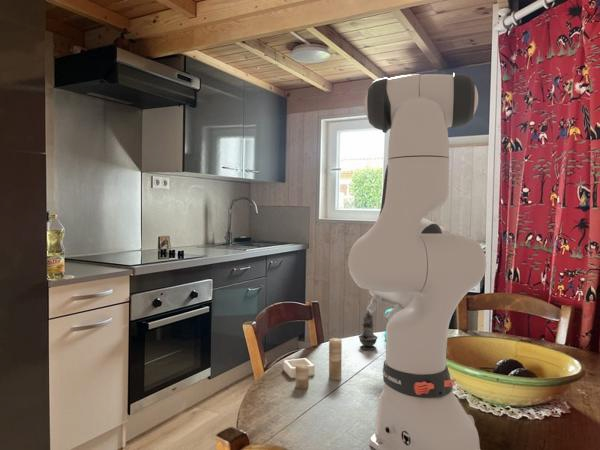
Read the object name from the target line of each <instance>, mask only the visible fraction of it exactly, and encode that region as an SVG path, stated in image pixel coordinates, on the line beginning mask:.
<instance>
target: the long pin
mask: <svg viewBox="0 0 600 450" xmlns="http://www.w3.org/2000/svg"><path fill="white" fill-rule="evenodd" d="M342 342H343V340H342V339H341V338H337V337H331V338H329V339H328V379H329V380H330V381H335V382H336V381H340V380H342V357H343V356H342V352H343V351H342V345H343V343H342Z"/></svg>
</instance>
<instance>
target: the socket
mask: <svg viewBox="0 0 600 450" xmlns="http://www.w3.org/2000/svg"><path fill="white" fill-rule="evenodd" d="M297 365H307V366H308V367H309V377H311V376H315V365H314V364H313V363H312V361H310V360H309V359H307V357H302V358H301V357H300V358H294V359H285V360H283V370H284V372H285V373H286V374H287V376H288V377H289V378H291V379H296V366H297Z"/></svg>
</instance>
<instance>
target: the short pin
mask: <svg viewBox="0 0 600 450" xmlns="http://www.w3.org/2000/svg"><path fill="white" fill-rule="evenodd" d="M309 377H310V376H309V367H308V366H307V365H297V366H296V378H295V389H297V390H301V391H302V390H308V389H309Z"/></svg>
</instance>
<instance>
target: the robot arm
mask: <svg viewBox="0 0 600 450" xmlns="http://www.w3.org/2000/svg"><path fill="white" fill-rule="evenodd" d="M475 84H476V83H475V80H474V79H473V78H472V77H471V75H468V74H466V73H456V72H453V74H444V73H442V74H441V73H440V74H439V73H434V74H433V73H432V74H431V73H430V74H429V73H428V74H427V73H426V74H420V73H413V74H406V75H399V76H394V77H390V78H388V77H387V76H386V77H383V78H377V79H376V80H374V81H372V83H371V84H370V85H369V86H368V89H367V92H366V94H365V99H364V111H365V114H366V117H367V120H368V123H369V124H370V126H372V127H373V128H374V129H376V130H380V131H382V133H384V134H386V133H388V131H390V132H389V139H388V148H387V149H388V153H387V165H386V168H385V173H384V178H383V188H382V194H381V195H382V196H381V205H380V211H379V215H378V217H377V219H376V221H375V223H374V224H373V225H372V226H371V227H370V229H369V230H368V231H367V232H366V233H365V234H363V235H362V236H361V237H359V238H358V239H357V240H356V241H355V242H354V243H353V245H352V246H351V248H350V251H349V254H348V260H347V261H348V262H347V266H348V270H349V274H350V276H351V279H352V281H354V283H355V284H356V285H357V286H358V287H359V288H360V289H365V290H368V293H369V294H370V295H371V296H372V297H371V299H370V303H369V304H368V306H367V307H366V310H367V311H369V313H370V314H372V313H374V312H375V311H376V310H377V305H378V304H380V303H381V302H383V303H386V304H388V305H391V306H393V308H391V309H392V310H391V311H390V312H389V311H387V310H386V311H387V313H386V314H385V313H384V315H383V317H384V318H385V319H386V320H387V321H388V322H387V324H386V327H385V328H386V329H385V330H386V331H385V332H386V339H385V360H384V361H383V367H382V375H383V377H382V378H383V379H382V381H383V383H384V386H383V388H382V391H381V393H380V395H379V397H378V400H377V408H376V417H375V418H376V420H375V430H374V433H373V434H372V435H371V436H370V438H369V446H370V447H372V448H373V449H374V450H482V449H481V446H480V437H479V432H478V429H477V426H476V424H475V423H476V422H475V419H474V416H473V415H471V414H467V412H466V410H465V409H464V407H463V406H462V404H461V403H460V402H459V400H458V398H457V397H456V396H455V394H454V393H453V389H454V388H453V386H454V387H455V386H456V384H455V383H454V382H456V381H457V380H456V379H455V378H454V379H451V373H450V372H449V368H448V366H447V345H448V334H449V333H448V332H449V327H450V323H451V319H452V316H453V315H454V312H455V310H456V309H457V307H458V305H459V304H460V302H461V301H462V300H463V298H465V296H466V295H467V294H468V293H469V292H470V291H471V290H473V289H474V288H475V287H477V286H479V284H480V283H481V281H482V280H483V277H485V274H486V270H487V257H486V253H485V251H484V249H483V247H482V246H481V244H480V243H479V242H478V241H477V240H476V239H475V238H473V237H468V236H464V235H459V234H454V233H451V232H450V230H449V229H447V228H446V227H444V226H441V225H439V224H437V223H435V222H434V221H432V220H429V219H427V218H425V217H426V216H429V215H430V214H432V213H434V212H436V211H438V210H439V209H441V208H442V207H443V206H444V205H445V203H446V202H447V200H448V198H449V190H450V189H449V187H450V185H449V179H450V178H449V177H450V143H449V142H450V141H449V131H448V128H451V129H456V128H460V127H464V126H466V125H467V126H468V124H469V123H470V122H471V121H472V120H473V119H474V115H475V113H476V111H477V108H478V106H479V105H478V104H479V94H478V93H479V92H478V88H477V86H476V85H475Z"/></svg>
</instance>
